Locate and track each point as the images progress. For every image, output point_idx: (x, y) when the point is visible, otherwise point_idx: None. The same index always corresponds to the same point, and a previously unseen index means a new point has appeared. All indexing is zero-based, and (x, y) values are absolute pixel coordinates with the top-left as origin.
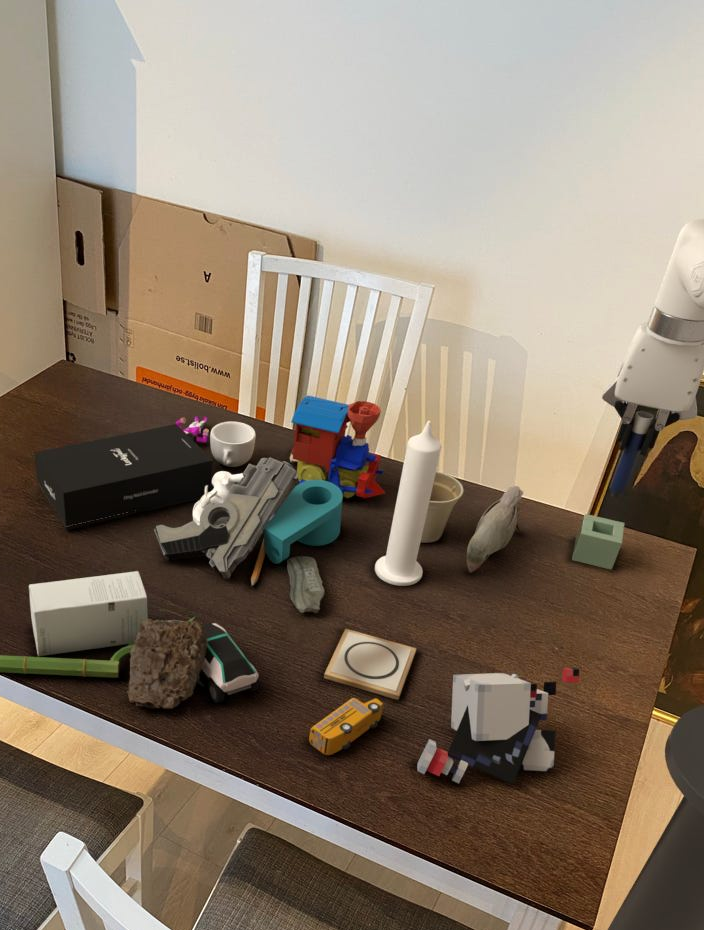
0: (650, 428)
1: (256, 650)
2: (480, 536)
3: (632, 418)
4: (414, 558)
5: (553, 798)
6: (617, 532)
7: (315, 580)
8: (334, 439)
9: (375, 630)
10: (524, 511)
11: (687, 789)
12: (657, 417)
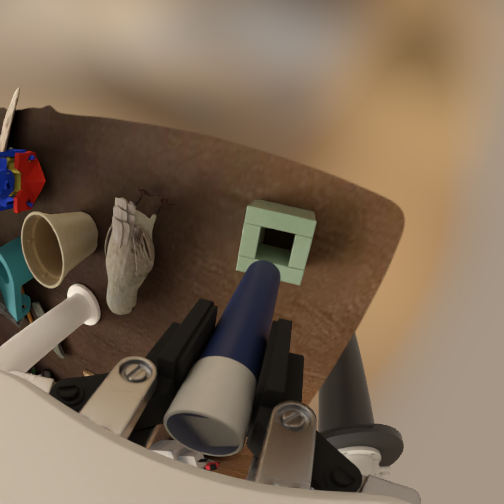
0: (248, 430)
1: (61, 376)
2: (110, 307)
3: (160, 422)
4: (80, 324)
5: (221, 467)
6: (298, 255)
7: None
8: None
9: (97, 368)
10: (185, 139)
11: None
12: (248, 477)
